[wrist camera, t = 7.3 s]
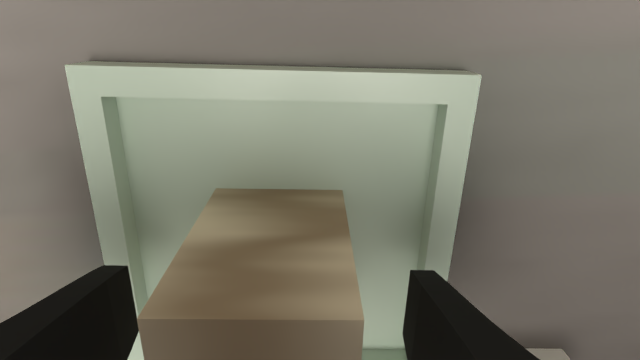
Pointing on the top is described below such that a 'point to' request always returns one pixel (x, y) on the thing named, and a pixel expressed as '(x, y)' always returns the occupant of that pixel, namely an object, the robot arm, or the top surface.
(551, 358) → the white cube
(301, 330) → the birch block
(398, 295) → the sage tray
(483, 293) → the top surface
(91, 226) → the top surface
